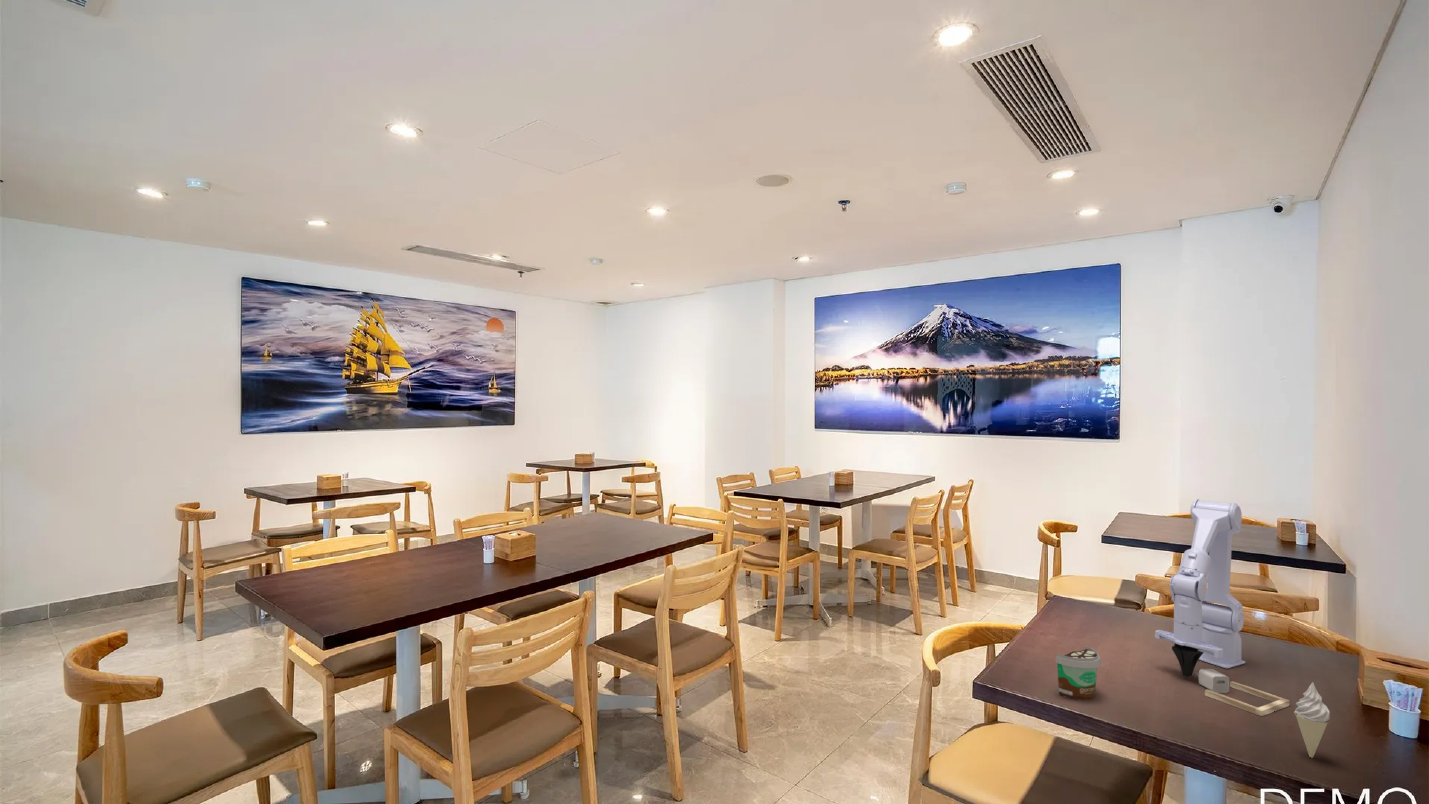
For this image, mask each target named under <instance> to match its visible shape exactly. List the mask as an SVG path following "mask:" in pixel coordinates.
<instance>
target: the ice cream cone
mask: <svg viewBox="0 0 1429 804" xmlns="http://www.w3.org/2000/svg"><path fill="white" fill-rule="evenodd" d="M1302 695H1303V697H1302V698H1299V699H1298V701H1297V702H1295V705H1296V706H1297V707H1296V708H1295V709H1294V710H1295V711H1294V712H1293V713H1294V715H1295V717H1296V720H1297V723H1298V727H1299V730H1300V732H1301V735H1302V738H1303V741H1304V742H1303V743H1305V744H1304V745H1305V747H1306V750H1307V753H1308V756H1309V758H1310V757H1311V759H1313V758H1314V756H1315V754H1316V751H1317V749H1318V748H1319V744H1320V742H1321V739H1322V738H1323V735H1324V732H1325V730H1326V727H1327V725H1328V724H1329V722H1330V719H1331V717H1330V712H1331V711H1330V710H1329V708H1328V706H1327V705H1326V704H1324V703H1323V701H1322V699H1323V697H1322V696H1321V695H1320V694H1319V692H1318V690H1317V688H1316V686H1315V684H1314V682H1313V681H1312V682H1311V683H1310V685H1309V687H1308V688H1307V689H1306V691H1305V692H1303V693H1302Z"/></svg>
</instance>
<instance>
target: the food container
mask: <svg viewBox="0 0 1429 804" xmlns="http://www.w3.org/2000/svg"><path fill="white" fill-rule="evenodd" d="M1101 661H1102V660H1101V657H1100V654H1099V652H1098V651H1097V650H1095V648H1092V647H1090V646H1088V645H1085V648H1084V649H1083V650H1078V651H1076V650H1075V651H1071V652H1068V653H1066V654H1061V653H1056V656H1055V663H1056V664H1057V665H1056V666H1057V667H1056V668H1057V681H1058V682H1057V683H1058V695H1059V694H1060V696H1062V697H1064V696H1066V697H1065V698H1068V697H1069V698H1068V699H1073V700H1077V699H1080V700H1079V701H1089V700H1092V699H1095V697H1096V695H1095V694H1096V688H1097V687H1096V686H1097V675H1098V668H1099V667H1101V664H1102V662H1101Z"/></svg>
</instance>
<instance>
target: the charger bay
mask: <svg viewBox="0 0 1429 804" xmlns="http://www.w3.org/2000/svg"><path fill="white" fill-rule="evenodd" d="M1229 688H1233V689H1235V690H1237V691H1241V692H1244V693H1247V694H1250V695H1253V696H1255V697H1258V698H1261V699H1263V700H1266V701H1269V702H1270V703H1267V704H1264V705H1262V706H1261V705H1260V706H1254V705H1251V704H1249V703H1247V702H1244V701H1241V700H1238V699H1235V698H1233V697H1230V696H1227V695H1225V694H1223V693H1216V692H1213V691H1211V690H1209V689H1205V690H1204V696H1206V697H1209V698H1211V699H1213V700H1217V701H1219V702H1222V703H1225V704H1227V705H1230V706H1233V707H1236V708H1238V709H1240V710H1243V711H1245V712H1246V711H1247V712H1249V713H1252V714H1254V715H1257V716H1260V717H1264V716H1267V715H1270V714H1272V713H1275V712H1277V711H1279V710H1280V711H1281V710H1282V709H1285V708H1286V707H1290V706H1291V705H1290V704H1291V703H1290V701H1291V700H1289V699H1287V698H1283V697H1280V696H1277V695H1275V694H1273V693H1272V694H1271V693H1269V692H1266V691H1264V690H1260V689H1257V688H1254V687H1251V686H1249V685H1245V684H1242V683H1239V682H1237V681H1229ZM1289 705H1290V706H1289ZM1274 711H1275V712H1274Z"/></svg>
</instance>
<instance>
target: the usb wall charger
mask: <svg viewBox="0 0 1429 804" xmlns="http://www.w3.org/2000/svg"><path fill="white" fill-rule="evenodd" d="M1193 674H1194V675H1196V676H1198V684H1199V685H1201V686H1202V687H1204V688H1206V690H1211V691H1213V692H1216V693H1219V694H1227V693H1229V692H1230V677H1229V676H1227V675H1225V674H1224V673H1221V672H1220V671H1217V670H1215V669H1213V668H1200V669H1199V670H1198V672H1197V671H1195V670H1194V671H1193Z"/></svg>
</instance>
